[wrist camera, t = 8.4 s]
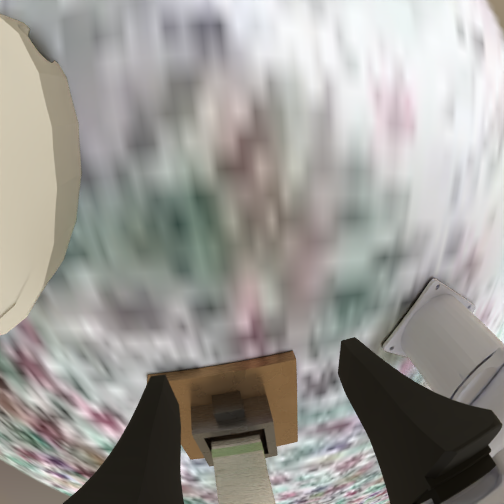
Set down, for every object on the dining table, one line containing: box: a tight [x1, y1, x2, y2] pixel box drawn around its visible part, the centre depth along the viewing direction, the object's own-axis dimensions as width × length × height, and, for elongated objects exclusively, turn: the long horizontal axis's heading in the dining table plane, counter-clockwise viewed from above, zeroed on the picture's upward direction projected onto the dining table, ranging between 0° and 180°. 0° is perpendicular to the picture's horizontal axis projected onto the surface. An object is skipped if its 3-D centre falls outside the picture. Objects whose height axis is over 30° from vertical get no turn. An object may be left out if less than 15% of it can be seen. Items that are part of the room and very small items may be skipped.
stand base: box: [147, 351, 298, 466], centre depth 25 cm, size 14×12×4 cm
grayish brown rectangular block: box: [211, 434, 276, 504], centre depth 20 cm, size 4×4×8 cm
